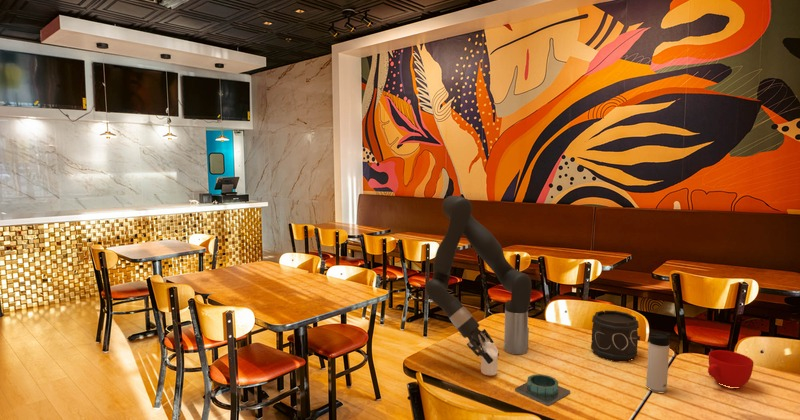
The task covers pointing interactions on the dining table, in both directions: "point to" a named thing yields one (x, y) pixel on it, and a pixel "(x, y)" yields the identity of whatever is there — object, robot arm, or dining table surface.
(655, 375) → the travel mug
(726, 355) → the ceramic cup
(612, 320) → the black coffee canister
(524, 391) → the socket plate
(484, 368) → the white crystal
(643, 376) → the dining table surface
